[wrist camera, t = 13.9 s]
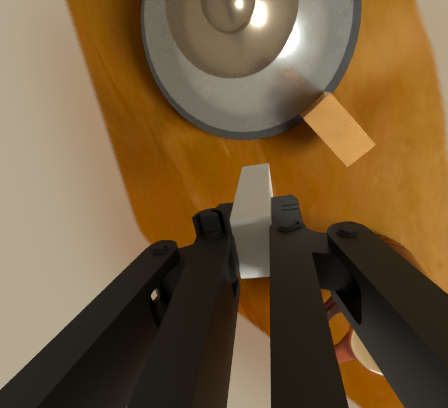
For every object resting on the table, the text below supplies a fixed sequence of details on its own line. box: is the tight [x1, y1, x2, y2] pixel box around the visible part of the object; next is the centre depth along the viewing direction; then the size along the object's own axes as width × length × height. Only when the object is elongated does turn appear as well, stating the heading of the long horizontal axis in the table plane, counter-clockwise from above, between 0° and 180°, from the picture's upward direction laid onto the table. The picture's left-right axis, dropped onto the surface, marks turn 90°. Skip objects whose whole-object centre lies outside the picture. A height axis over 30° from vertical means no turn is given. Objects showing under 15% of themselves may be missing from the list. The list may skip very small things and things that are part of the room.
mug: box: [324, 235, 431, 377], centre depth 27 cm, size 12×9×10 cm
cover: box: [165, 0, 299, 78], centre depth 19 cm, size 8×8×6 cm
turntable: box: [144, 0, 376, 167], centre depth 21 cm, size 20×15×4 cm
